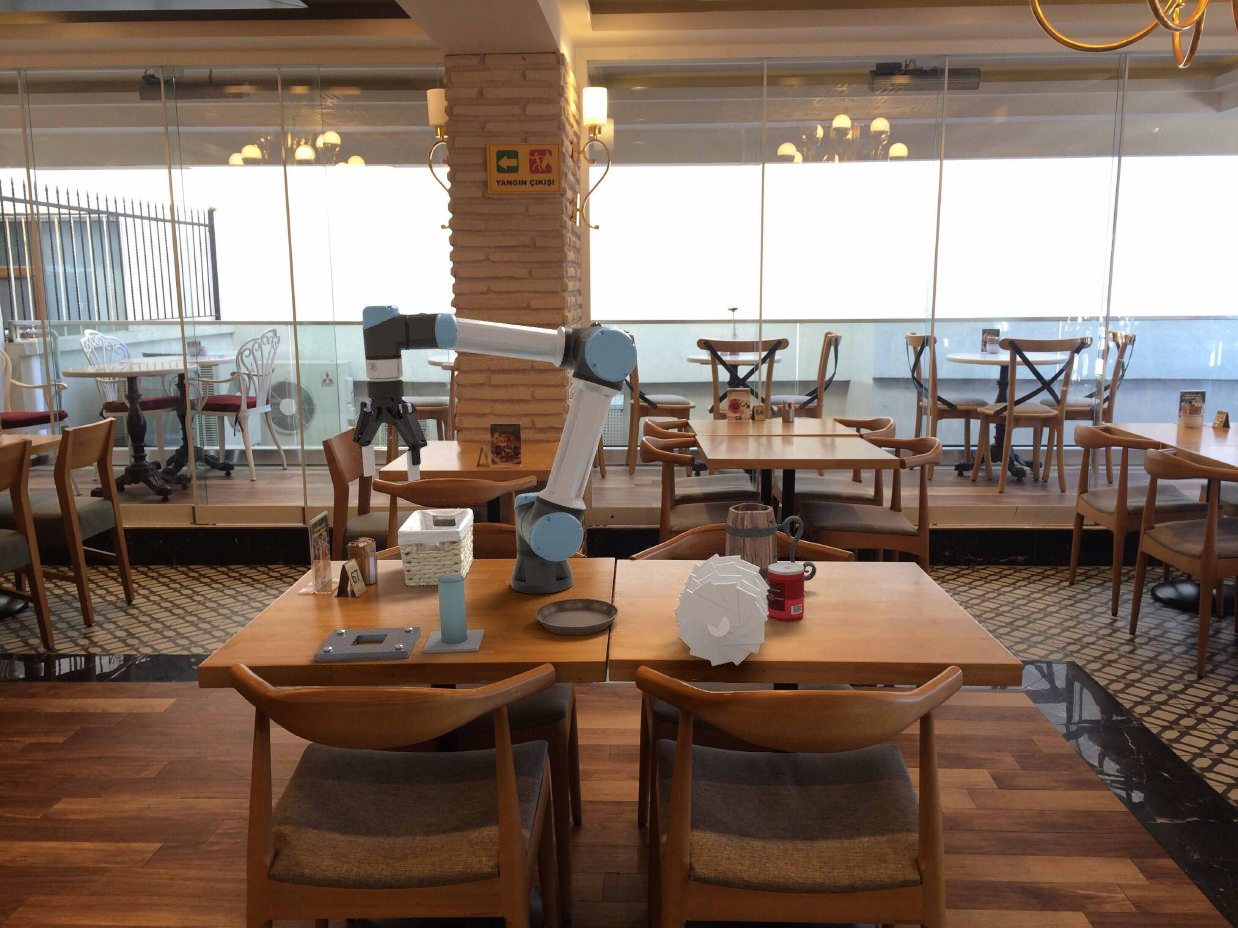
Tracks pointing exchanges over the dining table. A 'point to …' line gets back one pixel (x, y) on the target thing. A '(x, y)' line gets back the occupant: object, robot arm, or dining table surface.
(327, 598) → the dining table surface
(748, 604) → the spiral staircase
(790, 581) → the canned food
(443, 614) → the plug
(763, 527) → the tankard
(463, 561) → the storage basket
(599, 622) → the plant saucer
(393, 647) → the flange plate
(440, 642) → the pad
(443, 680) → the dining table surface
